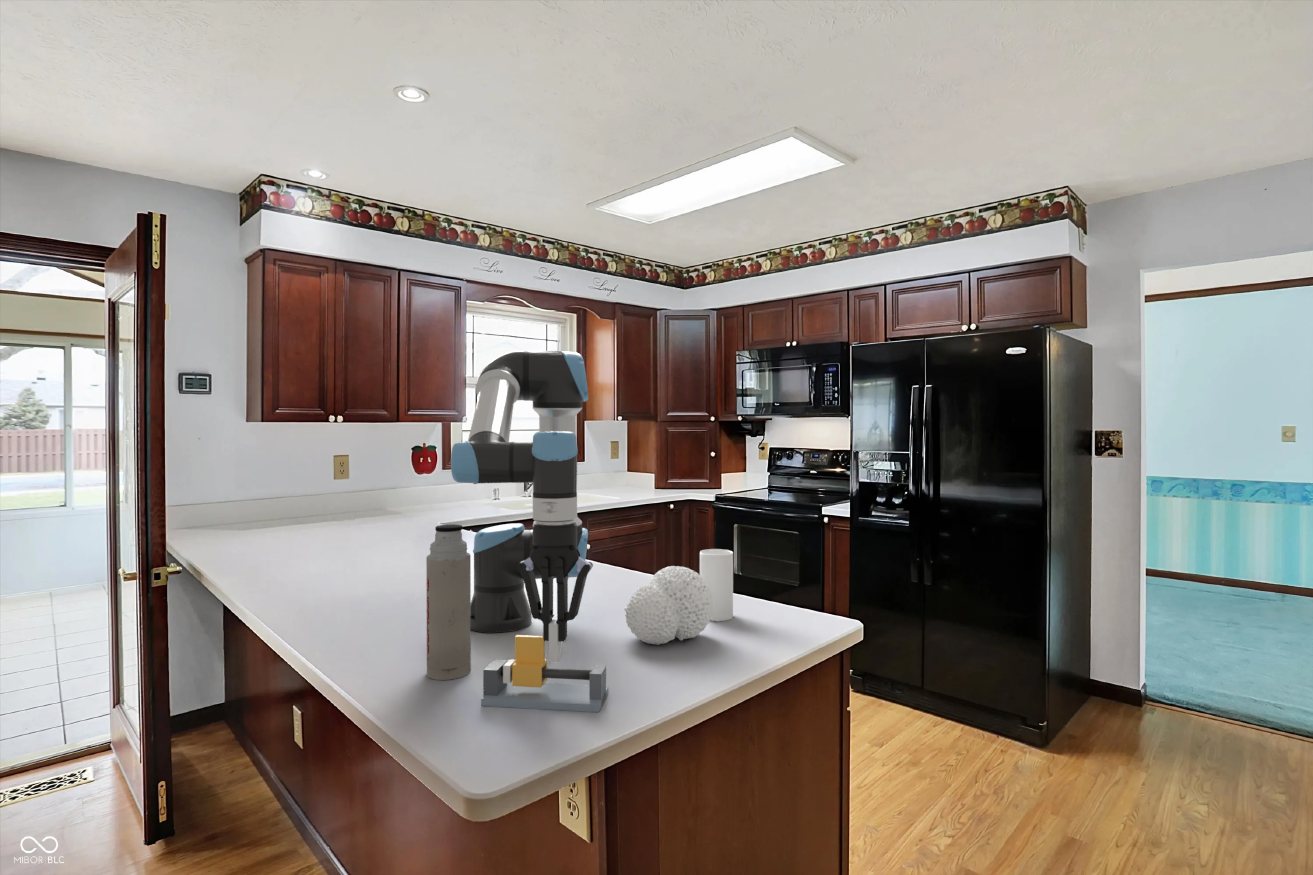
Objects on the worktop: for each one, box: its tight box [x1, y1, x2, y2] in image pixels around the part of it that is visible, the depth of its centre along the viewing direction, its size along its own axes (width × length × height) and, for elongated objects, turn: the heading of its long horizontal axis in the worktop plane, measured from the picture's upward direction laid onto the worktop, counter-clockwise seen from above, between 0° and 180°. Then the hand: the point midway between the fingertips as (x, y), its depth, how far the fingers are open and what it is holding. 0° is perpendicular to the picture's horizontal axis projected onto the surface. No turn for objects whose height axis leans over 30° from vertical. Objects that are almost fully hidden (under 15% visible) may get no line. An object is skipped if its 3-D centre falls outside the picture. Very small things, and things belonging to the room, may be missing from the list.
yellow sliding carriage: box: [512, 634, 548, 687], centre depth 114 cm, size 5×4×8 cm
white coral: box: [623, 565, 713, 646], centre depth 147 cm, size 20×18×16 cm
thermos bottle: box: [425, 524, 472, 681], centre depth 127 cm, size 8×8×28 cm
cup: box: [699, 548, 734, 622], centre depth 165 cm, size 8×8×16 cm
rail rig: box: [480, 659, 609, 713], centre depth 114 cm, size 20×8×6 cm, turn 83°
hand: (555, 659), depth 114 cm, fingers closed
